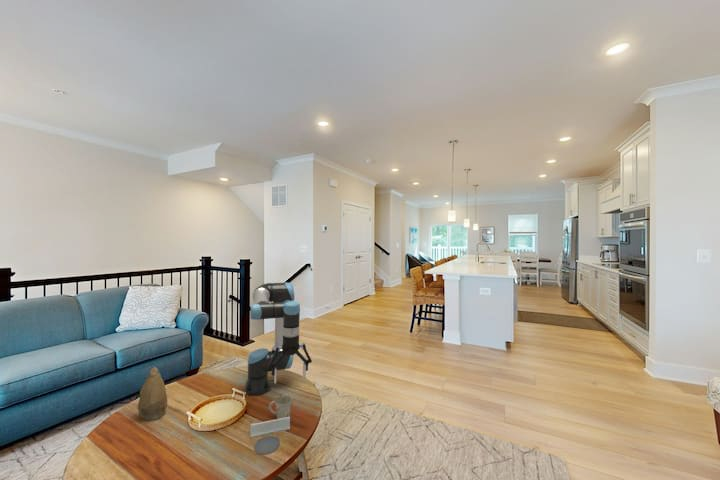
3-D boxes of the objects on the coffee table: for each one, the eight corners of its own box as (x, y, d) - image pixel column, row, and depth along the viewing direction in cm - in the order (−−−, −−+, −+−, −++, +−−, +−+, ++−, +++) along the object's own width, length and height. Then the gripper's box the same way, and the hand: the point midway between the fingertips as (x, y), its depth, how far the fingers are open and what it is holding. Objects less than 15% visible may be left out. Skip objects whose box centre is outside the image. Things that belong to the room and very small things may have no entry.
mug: (287, 425, 141) (287, 405, 141) (264, 421, 143) (264, 401, 143) (294, 415, 149) (294, 396, 149) (272, 411, 152) (272, 393, 152)
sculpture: (133, 418, 143) (134, 369, 143) (157, 406, 153) (158, 360, 153) (147, 425, 138) (148, 374, 138) (171, 413, 148) (172, 365, 148)
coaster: (254, 439, 130) (254, 439, 130) (278, 434, 134) (278, 433, 134) (254, 457, 120) (254, 456, 120) (281, 450, 124) (281, 449, 124)
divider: (250, 433, 134) (250, 423, 134) (289, 425, 141) (289, 415, 141) (250, 437, 131) (250, 427, 131) (290, 429, 138) (290, 419, 138)
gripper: (263, 340, 126) (262, 387, 126) (318, 335, 135) (317, 379, 135) (263, 335, 133) (261, 379, 133) (315, 330, 142) (314, 372, 142)
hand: (289, 379), depth 134 cm, fingers open, 13 cm apart
